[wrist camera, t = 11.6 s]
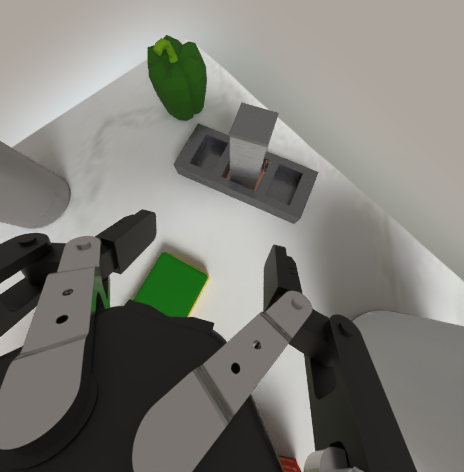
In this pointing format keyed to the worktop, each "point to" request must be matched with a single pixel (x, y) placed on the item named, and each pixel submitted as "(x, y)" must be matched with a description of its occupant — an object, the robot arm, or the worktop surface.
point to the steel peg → (250, 143)
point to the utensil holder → (421, 383)
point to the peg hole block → (218, 177)
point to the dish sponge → (172, 286)
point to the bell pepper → (178, 76)
